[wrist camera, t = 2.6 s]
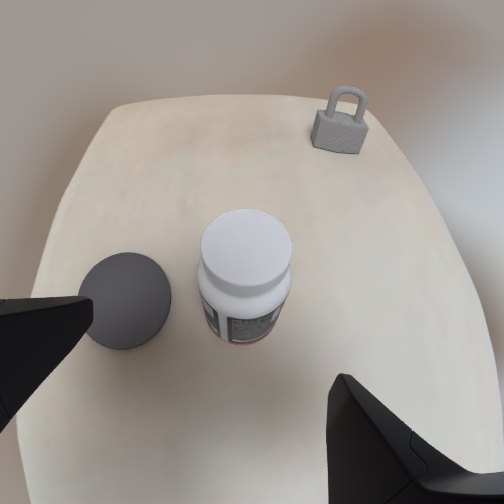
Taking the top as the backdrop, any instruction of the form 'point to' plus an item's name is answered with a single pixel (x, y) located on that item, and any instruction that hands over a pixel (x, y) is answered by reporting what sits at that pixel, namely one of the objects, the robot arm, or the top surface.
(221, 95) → the top surface
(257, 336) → the pill bottle
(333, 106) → the padlock
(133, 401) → the top surface
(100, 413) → the top surface
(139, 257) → the coaster
